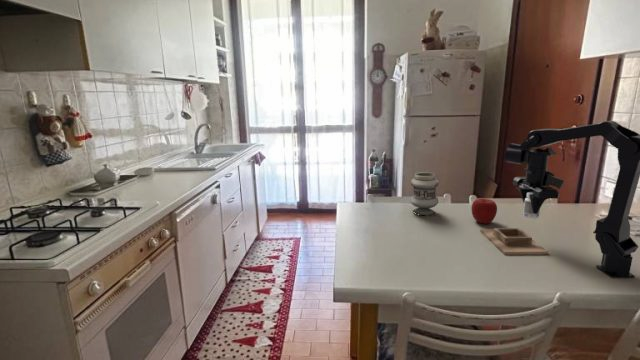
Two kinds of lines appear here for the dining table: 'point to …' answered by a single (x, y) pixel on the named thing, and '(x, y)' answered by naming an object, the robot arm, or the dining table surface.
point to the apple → (484, 210)
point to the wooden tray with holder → (513, 241)
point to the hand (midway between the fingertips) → (531, 210)
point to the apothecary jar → (424, 193)
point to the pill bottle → (529, 208)
